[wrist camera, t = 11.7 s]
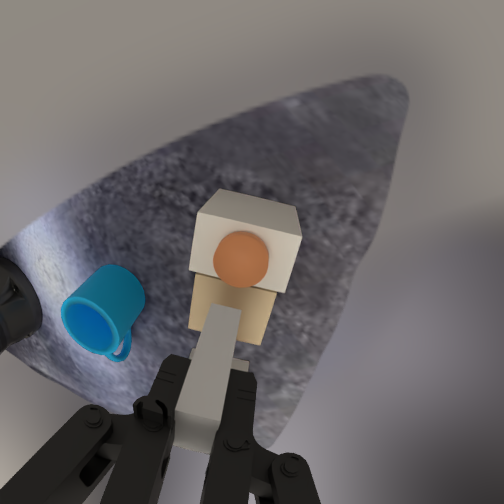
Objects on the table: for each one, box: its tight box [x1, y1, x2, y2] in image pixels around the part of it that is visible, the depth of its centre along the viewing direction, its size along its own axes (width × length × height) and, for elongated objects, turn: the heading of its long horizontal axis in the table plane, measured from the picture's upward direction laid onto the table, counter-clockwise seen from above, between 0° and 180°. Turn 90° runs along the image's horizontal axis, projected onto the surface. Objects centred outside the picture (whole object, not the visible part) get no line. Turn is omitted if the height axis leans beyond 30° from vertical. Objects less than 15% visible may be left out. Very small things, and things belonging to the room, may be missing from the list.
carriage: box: [188, 272, 277, 345], centre depth 30 cm, size 7×6×8 cm
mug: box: [61, 264, 145, 362], centre depth 34 cm, size 12×8×8 cm
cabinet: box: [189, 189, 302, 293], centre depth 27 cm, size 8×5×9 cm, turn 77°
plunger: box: [213, 232, 269, 288], centre depth 24 cm, size 4×4×5 cm
